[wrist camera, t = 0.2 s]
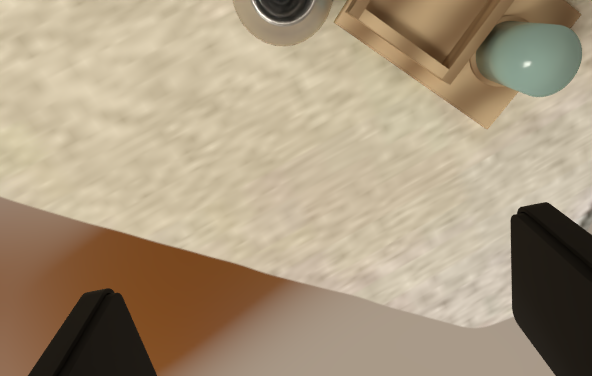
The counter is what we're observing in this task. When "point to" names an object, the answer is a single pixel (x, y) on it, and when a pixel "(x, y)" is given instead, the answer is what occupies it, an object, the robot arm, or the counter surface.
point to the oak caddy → (447, 42)
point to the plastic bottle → (282, 19)
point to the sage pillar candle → (530, 57)
